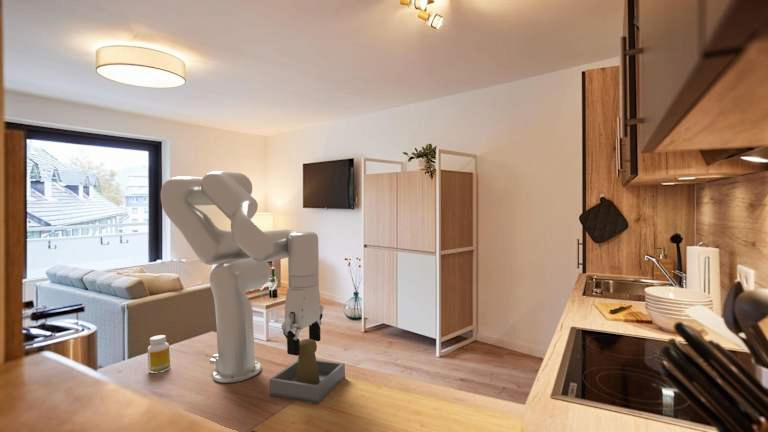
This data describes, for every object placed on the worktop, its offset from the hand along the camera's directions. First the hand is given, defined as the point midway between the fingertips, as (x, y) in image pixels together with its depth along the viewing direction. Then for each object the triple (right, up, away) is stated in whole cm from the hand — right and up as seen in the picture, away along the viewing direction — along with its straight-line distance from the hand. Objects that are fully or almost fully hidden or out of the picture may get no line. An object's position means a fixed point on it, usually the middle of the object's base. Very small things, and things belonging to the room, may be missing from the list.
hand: (304, 347), depth 96 cm
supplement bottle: (-45, -12, +14) cm, 48 cm away
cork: (+1, -9, 0) cm, 9 cm away
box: (+1, -10, 0) cm, 10 cm away
